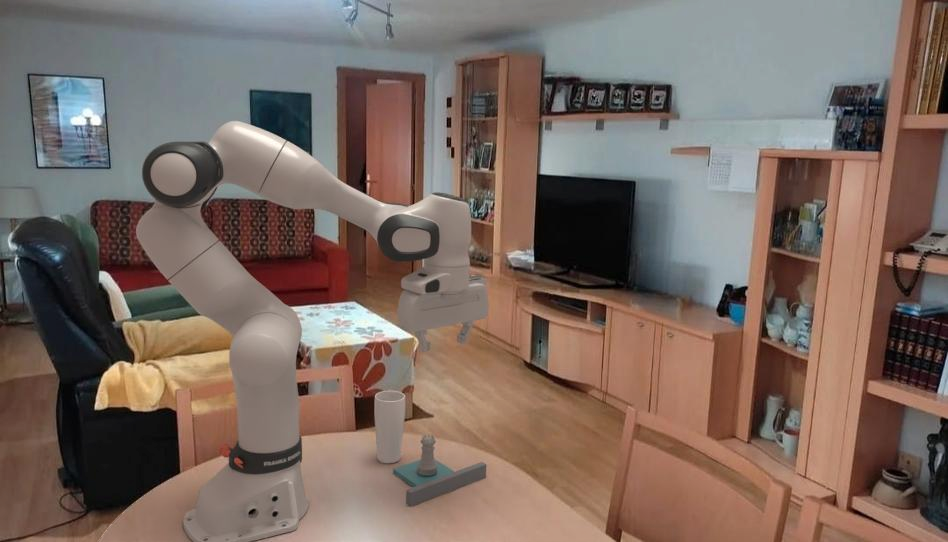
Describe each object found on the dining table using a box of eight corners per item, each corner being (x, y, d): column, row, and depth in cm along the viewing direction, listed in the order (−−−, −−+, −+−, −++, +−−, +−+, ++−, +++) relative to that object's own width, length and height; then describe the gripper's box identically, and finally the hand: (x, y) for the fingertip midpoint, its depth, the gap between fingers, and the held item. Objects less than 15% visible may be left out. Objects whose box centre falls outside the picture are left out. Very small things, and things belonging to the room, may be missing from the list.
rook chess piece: (433, 478, 146) (435, 443, 144) (413, 475, 147) (414, 439, 145) (440, 469, 150) (441, 434, 148) (420, 465, 151) (421, 431, 149)
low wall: (410, 506, 136) (410, 492, 136) (405, 503, 137) (406, 489, 137) (485, 477, 149) (486, 464, 149) (481, 474, 150) (481, 461, 150)
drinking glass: (371, 453, 158) (372, 391, 155) (400, 450, 160) (402, 389, 157) (376, 467, 151) (377, 402, 148) (406, 464, 153) (408, 400, 150)
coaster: (420, 492, 142) (420, 487, 142) (392, 473, 149) (392, 468, 149) (458, 478, 148) (458, 473, 148) (429, 460, 156) (429, 456, 156)
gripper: (476, 269, 143) (473, 334, 145) (393, 280, 129) (392, 351, 132) (497, 275, 138) (493, 341, 141) (413, 286, 125) (411, 360, 127)
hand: (443, 346), depth 136 cm, fingers open, 8 cm apart
